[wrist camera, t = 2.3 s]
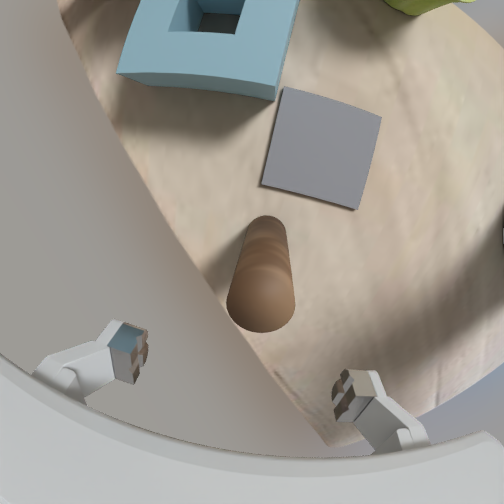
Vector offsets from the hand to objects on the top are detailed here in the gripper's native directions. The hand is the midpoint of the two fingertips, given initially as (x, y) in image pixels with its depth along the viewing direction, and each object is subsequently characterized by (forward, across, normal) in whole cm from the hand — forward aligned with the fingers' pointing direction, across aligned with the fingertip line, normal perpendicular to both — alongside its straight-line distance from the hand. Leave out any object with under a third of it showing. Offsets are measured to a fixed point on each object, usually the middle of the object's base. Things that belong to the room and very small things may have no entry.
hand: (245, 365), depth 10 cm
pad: (+16, -4, -9) cm, 19 cm away
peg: (+16, -1, 0) cm, 16 cm away
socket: (+16, +7, -18) cm, 26 cm away
